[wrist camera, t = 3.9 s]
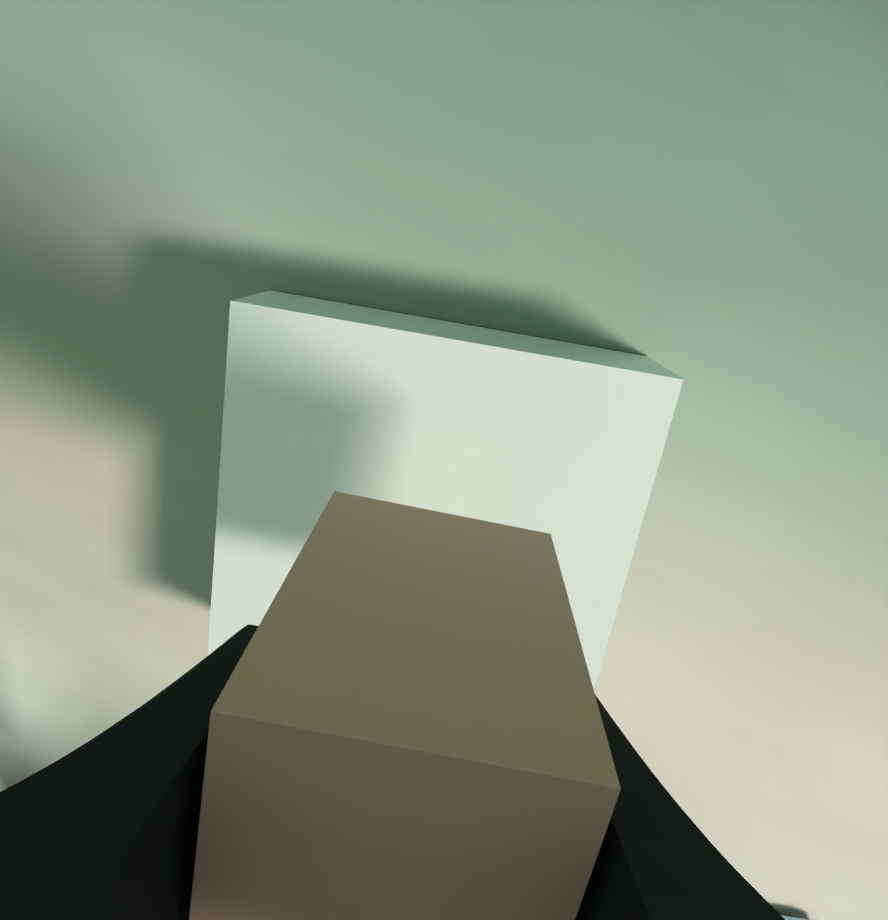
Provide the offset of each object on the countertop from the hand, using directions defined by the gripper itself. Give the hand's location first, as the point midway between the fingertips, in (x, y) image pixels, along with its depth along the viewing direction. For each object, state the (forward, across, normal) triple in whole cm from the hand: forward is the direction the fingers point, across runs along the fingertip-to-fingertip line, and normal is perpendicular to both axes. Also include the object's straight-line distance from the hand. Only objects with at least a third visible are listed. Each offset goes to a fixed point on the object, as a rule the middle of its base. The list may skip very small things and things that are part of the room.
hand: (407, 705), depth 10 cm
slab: (+9, 0, 0) cm, 9 cm away
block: (+2, 0, 0) cm, 3 cm away
